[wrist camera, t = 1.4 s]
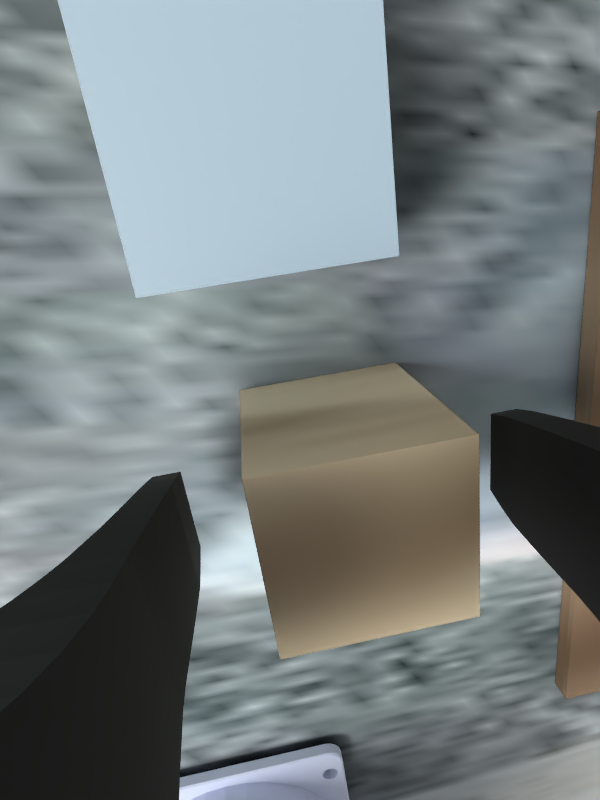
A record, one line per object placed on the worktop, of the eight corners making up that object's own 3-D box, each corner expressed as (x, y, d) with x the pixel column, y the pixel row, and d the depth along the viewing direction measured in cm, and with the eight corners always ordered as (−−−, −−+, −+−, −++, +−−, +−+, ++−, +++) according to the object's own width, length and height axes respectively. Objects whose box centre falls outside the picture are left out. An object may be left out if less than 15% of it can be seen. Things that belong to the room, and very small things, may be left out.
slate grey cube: (343, 245, 11) (398, 256, 7) (170, 273, 11) (136, 298, 7) (322, 39, 10) (377, -81, 6) (122, 64, 9) (46, -45, 6)
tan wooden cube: (404, 495, 14) (480, 616, 9) (266, 522, 13) (280, 659, 9) (394, 362, 12) (479, 434, 8) (239, 389, 12) (241, 479, 8)
